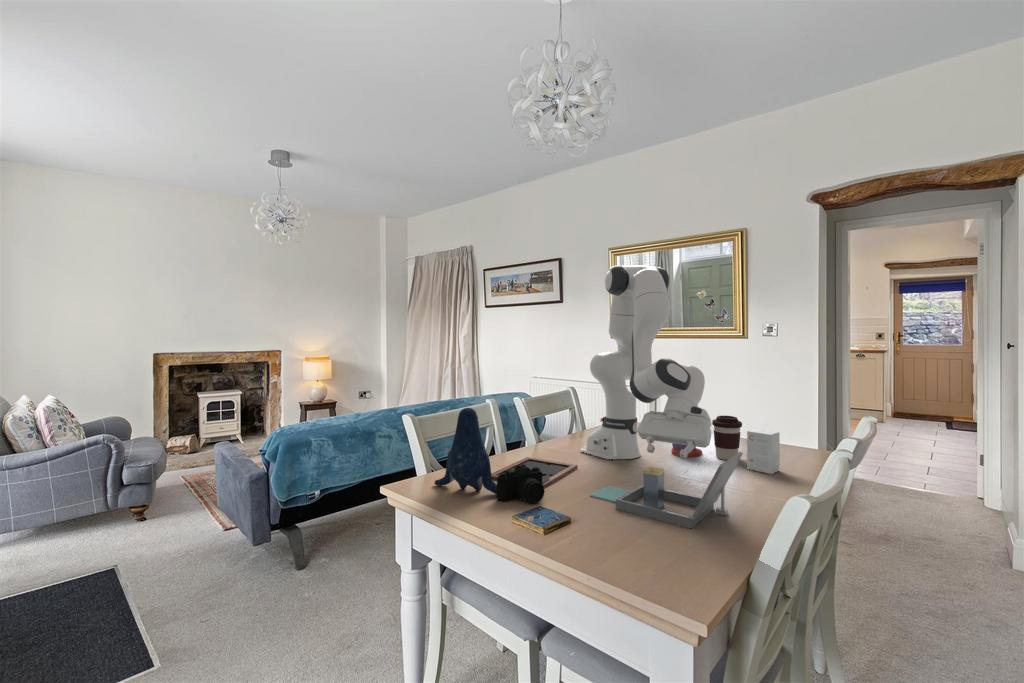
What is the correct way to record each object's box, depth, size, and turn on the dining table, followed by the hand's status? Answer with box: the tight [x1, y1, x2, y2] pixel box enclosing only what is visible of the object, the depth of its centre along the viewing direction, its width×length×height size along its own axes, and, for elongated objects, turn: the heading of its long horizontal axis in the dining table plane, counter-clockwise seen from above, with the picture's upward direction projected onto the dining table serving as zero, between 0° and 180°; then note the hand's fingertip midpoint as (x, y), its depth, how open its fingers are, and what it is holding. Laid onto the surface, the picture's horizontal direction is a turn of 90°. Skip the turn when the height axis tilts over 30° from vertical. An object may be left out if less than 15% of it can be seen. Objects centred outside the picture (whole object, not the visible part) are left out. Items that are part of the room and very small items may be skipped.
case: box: [615, 451, 744, 529], centre depth 126 cm, size 27×16×16 cm, turn 49°
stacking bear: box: [670, 443, 703, 458], centre depth 183 cm, size 11×10×18 cm
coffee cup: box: [711, 415, 743, 461], centre depth 177 cm, size 10×10×15 cm
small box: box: [746, 428, 781, 475], centre depth 162 cm, size 8×6×13 cm
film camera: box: [496, 464, 546, 504], centre depth 136 cm, size 15×10×9 cm, turn 118°
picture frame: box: [491, 456, 579, 489], centre depth 160 cm, size 20×2×25 cm
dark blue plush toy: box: [434, 407, 497, 495], centre depth 143 cm, size 25×11×25 cm, turn 65°
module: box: [642, 466, 665, 509], centre depth 130 cm, size 4×4×10 cm
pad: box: [589, 485, 631, 504], centre depth 139 cm, size 10×10×1 cm
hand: (665, 454), depth 135 cm, fingers open, 8 cm apart
